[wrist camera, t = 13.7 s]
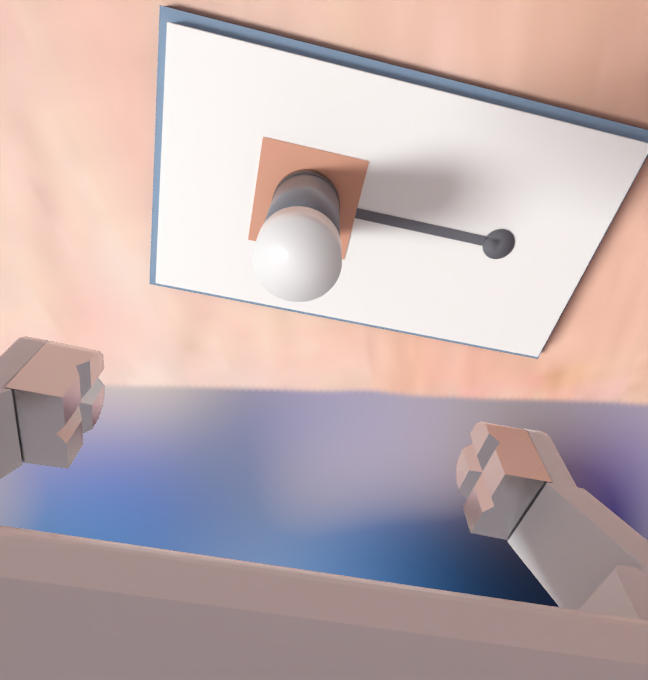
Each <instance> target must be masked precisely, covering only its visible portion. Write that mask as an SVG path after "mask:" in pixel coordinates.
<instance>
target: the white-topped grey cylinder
mask: <svg viewBox="0 0 648 680" xmlns="http://www.w3.org/2000/svg"><path fill="white" fill-rule="evenodd" d="M339 213H340V201H339V195H338V192H337V189H336V187H335V186H334V184H333V183H332V181H331V180H330V179H329V178H327V177H326V176H325V175H323V174H322V173H320V172H317V171H314V170H308V169H303V170H297V171H294V172H291V173H290V174H288V175H286V176H285V177H284V178H283V179H282V180H281V181H280V182H279V184H278V185H277V187H276V189H275V192H274V195H273V198H272V202H271V204H270V207H269V210H268V213H267V216H266V218H265V221H264V224H263V225H262V227H261V229H260V232H259V234H258V237H257V240H256V242H255V245H254V248H253V253H252V265H253V269H254V273H255V275H256V277H257V279H258V281H259V282H260V284H261V285H262V286H263V287H264V288H265V289H266V290H267V291H268V292H270V293H271V294H272V295H274V296H276V297H278V298H280V299H283V300H286V301H291V302H306V301H311V300H314V299H317V298H319V297H321V296H323V295H324V294H326V293H327V292H328V291H329V290H330V289H331V288H332V287H333V286H334V285H335V283H336V282H337V280H338V278H339V275H340V272H341V268H342V247H341V239H340V214H339Z"/></svg>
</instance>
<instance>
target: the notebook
mask: <svg viewBox="0 0 648 680" xmlns="http://www.w3.org/2000/svg"><path fill="white" fill-rule="evenodd" d="M647 156H648V130H646V129H642V128H638V127H635V126H631V125H627V124H623V123H619V122H615V121H611V120H607V119H603V118H599V117H596V116H592V115H588V114H584V113H580V112H576V111H572V110H568V109H564V108H560V107H556V106H553V105H549V104H545V103H541V102H537V101H533V100H529V99H525V98H521V97H517V96H513V95H510V94H506V93H502V92H498V91H494V90H490V89H486V88H482V87H478V86H474V85H470V84H467V83H463V82H459V81H455V80H451V79H447V78H443V77H439V76H435V75H431V74H427V73H424V72H420V71H416V70H412V69H408V68H404V67H400V66H396V65H392V64H388V63H384V62H381V61H377V60H373V59H369V58H365V57H361V56H357V55H353V54H349V53H345V52H341V51H338V50H334V49H330V48H326V47H322V46H318V45H314V44H310V43H306V42H302V41H298V40H295V39H291V38H287V37H283V36H279V35H275V34H271V33H267V32H263V31H259V30H255V29H252V28H248V27H244V26H240V25H236V24H232V23H228V22H224V21H220V20H216V19H212V18H209V17H205V16H201V15H197V14H193V13H189V12H185V11H181V10H177V9H173V8H169V7H166V6H160V16H159V43H158V70H157V98H156V125H155V152H154V179H153V206H152V234H151V261H150V284H153V285H158V286H163V287H168V288H174V289H179V290H184V291H189V292H194V293H199V294H205V295H210V296H215V297H220V298H225V299H231V300H236V301H241V302H246V303H251V304H256V305H262V306H267V307H272V308H277V309H282V310H287V311H293V312H298V313H303V314H308V315H313V316H319V317H324V318H329V319H334V320H339V321H344V322H350V323H355V324H360V325H365V326H370V327H375V328H381V329H386V330H391V331H396V332H401V333H407V334H412V335H417V336H422V337H427V338H432V339H438V340H443V341H448V342H453V343H458V344H464V345H469V346H474V347H479V348H484V349H489V350H495V351H500V352H505V353H510V354H515V355H520V356H526V357H531V358H536V359H538V357H539V355H540V354H541V352H542V350H543V348H544V346H545V344H546V342H547V341H548V339H549V337H550V335H551V333H552V331H553V330H554V328H555V326H556V324H557V322H558V320H559V318H560V317H561V315H562V313H563V311H564V309H565V307H566V306H567V304H568V302H569V300H570V298H571V296H572V294H573V293H574V291H575V289H576V287H577V285H578V283H579V282H580V280H581V278H582V276H583V274H584V272H585V270H586V269H587V267H588V265H589V263H590V261H591V259H592V258H593V256H594V254H595V252H596V250H597V248H598V247H599V245H600V243H601V241H602V239H603V237H604V235H605V234H606V232H607V230H608V228H609V226H610V224H611V223H612V221H613V219H614V217H615V215H616V213H617V211H618V210H619V208H620V206H621V204H622V202H623V200H624V199H625V197H626V195H627V193H628V191H629V189H630V187H631V186H632V184H633V182H634V180H635V178H636V176H637V175H638V173H639V171H640V169H641V167H642V165H643V163H644V162H645V160H646V158H647ZM303 169H308V170H314V171H317V172H320V173H322V174H323V175H325V176H326V177H327V178H329V179H330V180H331V181H332V183H333V184H334V186H335V187H336V189H337V192H338V195H339V201H340V213H339V214H340V239H341V247H342V268H341V272H340V275H339V278H338V280H337V282H336V283H335V285H334V286H333V287H332V288H331V289H330V290H329V291H328V292H327V293H326V294H324V295H323V296H321V297H319V298H317V299H314V300H311V301H306V302H291V301H286V300H283V299H280V298H278V297H276V296H274V295H272V294H271V293H270V292H268V291H267V290H266V289H265V288H264V287H263V286H262V285H261V284H260V282H259V281H258V279H257V277H256V275H255V273H254V269H253V265H252V253H253V248H254V245H255V242H256V240H257V237H258V234H259V232H260V229H261V227H262V225H263V224H264V221H265V218H266V216H267V213H268V210H269V207H270V204H271V202H272V198H273V195H274V192H275V189H276V187H277V185H278V184H279V182H280V181H281V180H282V179H283V178H284V177H285V176H286V175H288V174H290V173H291V172H294V171H297V170H303Z"/></svg>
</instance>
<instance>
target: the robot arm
mask: <svg viewBox="0 0 648 680" xmlns="http://www.w3.org/2000/svg"><path fill="white" fill-rule="evenodd" d="M103 369H104V361H103V354H102V353H101V352H100V351H96V350H91V349H87V348H82V347H77V346H72V345H67V344H62V343H57V342H53V341H51V342H50V341H47V340H42V339H36V338H31V337H22V338H19V339H18V340H17V341H16V342H15V343H14V344H12V345H11V346H10V347H9V348H8V349H7V350H6V351H5V352H4V353H3V354H2V355H1V356H0V479H1V478H2V477H4V476H5V475H7V474H9V473H10V472H12V471H13V470H15V469H16V468H18V467H20V466H21V465H22V462H23V463H31V464H38V465H46V466H53V467H61V468H69V466H70V465H71V463H72V461H73V460H74V458H75V457H76V455H77V453H78V452H79V450H80V448H81V447H82V445H83V433H85V432H87V431H89V430H91V429H92V428H93V427H94V425H95V424H96V422H97V420H98V418H99V415H100V412H101V409H102V406H103V400H104V384H103V383H102V382H101V380H100V379H99V378H98V376H99V375H100V373H101V372H102V370H103ZM470 436H471V439H472V442H473V443H472V444H470V445H469V446H467V447H465V448H463V449H462V451H461V454H460V456H459V458H458V461H457V467H456V482H457V486H458V490H459V491H460V492H461V493H462V494H463V495H464V497H465V498H466V499H467V501H466V503H465V505H464V506H463V508H464V512H465V515H466V519H467V522H468V526H469V530H470V533H475V534H479V535H485V536H490V537H496V538H500V539H506V540H508V543H509V544H510V545H511V547H512V548H513V549H514V550H515V552H516V553H517V554H518V555H519V557H520V558H521V559H522V560H523V562H524V563H525V564H526V566H527V567H528V568H529V569H530V571H531V572H532V573H533V574H534V575H535V577H536V578H537V579H538V581H539V582H540V583H541V584H542V586H543V587H544V588H545V589H546V591H547V592H548V593H549V594H550V596H551V597H552V598H553V599H554V601H555V602H556V603H557V604H558V606H559V607H553V606H546V605H538V604H532V603H525V602H518V601H511V600H505V599H498V598H491V597H484V596H477V595H470V594H464V593H457V592H450V591H444V590H436V589H430V588H423V587H416V586H410V585H403V584H396V583H389V582H382V581H376V580H369V579H362V578H355V577H349V576H341V575H335V574H328V573H321V572H314V571H308V570H301V569H294V568H287V567H280V566H274V565H267V564H260V563H252V562H246V561H239V560H233V559H226V558H219V557H212V556H205V555H198V554H191V553H184V552H178V551H171V550H164V549H156V548H150V547H143V546H137V545H130V544H123V543H116V542H109V541H103V540H96V539H89V538H82V537H75V536H69V535H62V534H54V533H47V532H41V531H35V530H27V529H21V528H13V527H7V526H0V680H648V541H647V540H646V539H645V538H643V537H642V536H641V535H640V534H639V533H637V532H636V531H635V530H634V529H632V528H631V527H630V526H629V525H627V524H626V523H625V522H624V521H623V520H621V519H620V518H619V517H618V516H617V515H615V514H614V513H613V512H612V511H610V510H609V509H608V508H607V507H605V506H604V505H603V504H602V503H601V502H599V501H598V500H597V499H596V498H594V497H593V496H592V495H591V494H590V493H588V492H587V491H586V490H585V489H582V488H577V487H576V485H575V483H574V481H573V479H572V477H571V475H570V473H569V472H568V470H567V468H566V466H565V464H564V462H563V460H562V459H561V457H560V455H559V453H558V451H557V449H556V448H555V446H554V444H553V442H552V440H551V438H550V437H549V435H548V434H546V433H545V432H542V431H535V430H529V429H519V428H513V427H508V426H502V425H496V424H491V423H485V422H478V424H476V425H475V426H474V428H473V430H472V432H471V433H470Z"/></svg>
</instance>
